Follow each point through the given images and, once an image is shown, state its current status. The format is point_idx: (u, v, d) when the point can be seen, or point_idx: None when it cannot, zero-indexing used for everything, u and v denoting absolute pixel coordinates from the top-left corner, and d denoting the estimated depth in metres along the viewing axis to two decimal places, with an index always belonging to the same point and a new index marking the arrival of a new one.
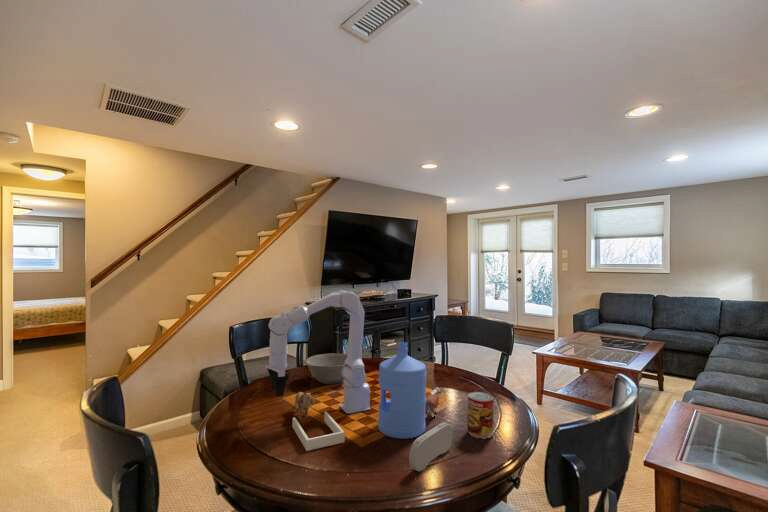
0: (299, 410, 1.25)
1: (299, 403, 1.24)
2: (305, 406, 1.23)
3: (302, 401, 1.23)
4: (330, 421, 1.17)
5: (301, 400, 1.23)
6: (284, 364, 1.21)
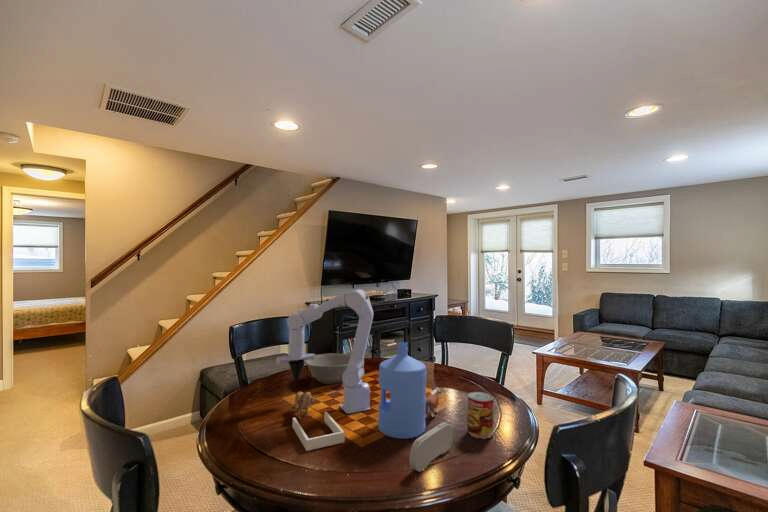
0: (299, 410, 1.25)
1: (299, 403, 1.24)
2: (305, 405, 1.23)
3: (302, 401, 1.23)
4: (330, 421, 1.17)
5: (301, 400, 1.24)
6: (291, 356, 1.36)
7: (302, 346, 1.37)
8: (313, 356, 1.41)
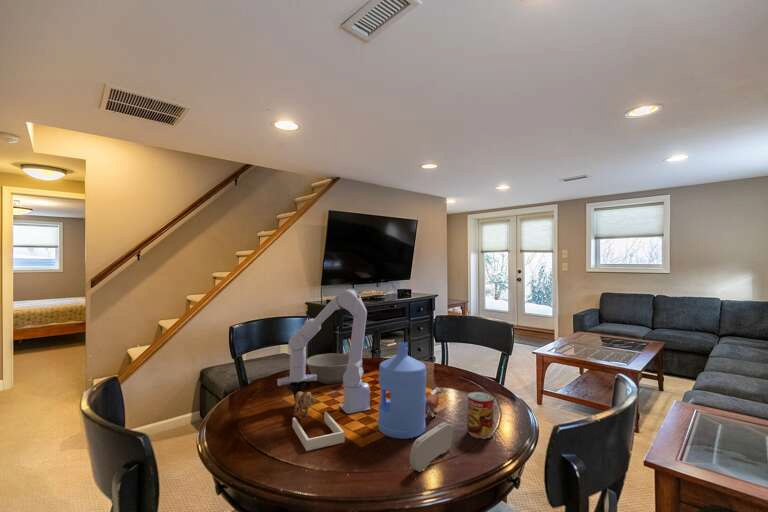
0: (299, 409, 1.25)
1: (299, 402, 1.24)
2: (305, 405, 1.23)
3: (302, 400, 1.23)
4: (330, 421, 1.17)
5: (301, 399, 1.24)
6: (292, 378, 1.34)
7: (303, 367, 1.35)
8: (315, 377, 1.38)
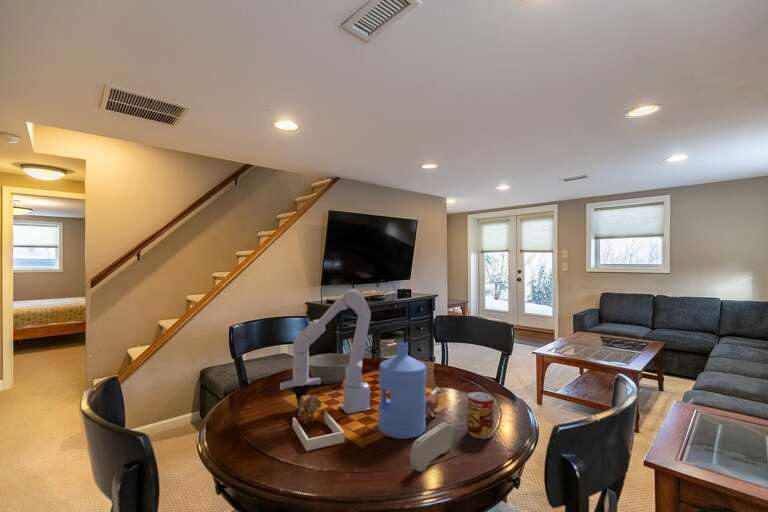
0: (305, 414, 1.21)
1: (306, 407, 1.21)
2: (312, 410, 1.20)
3: (309, 405, 1.20)
4: (330, 421, 1.17)
5: (308, 404, 1.20)
6: (296, 381, 1.30)
7: (307, 371, 1.31)
8: (318, 381, 1.34)
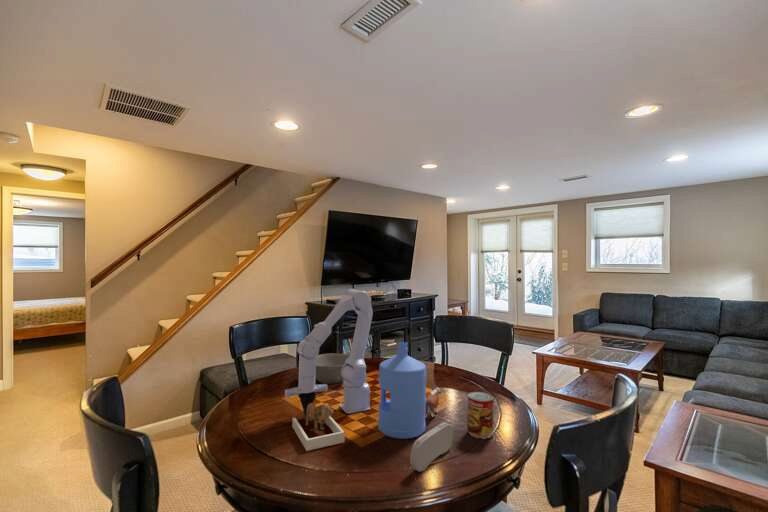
0: (316, 423, 1.15)
1: (316, 415, 1.14)
2: (324, 418, 1.13)
3: (320, 413, 1.13)
4: (330, 421, 1.17)
5: (319, 412, 1.14)
6: (302, 388, 1.22)
7: (313, 377, 1.24)
8: (325, 387, 1.27)
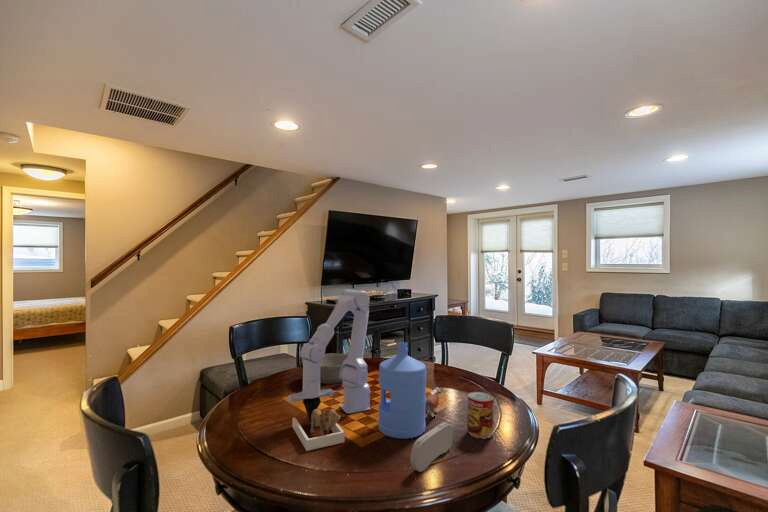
0: (322, 430, 1.10)
1: (323, 422, 1.09)
2: (331, 425, 1.09)
3: (327, 419, 1.09)
4: None
5: (326, 418, 1.09)
6: (306, 394, 1.18)
7: (318, 382, 1.19)
8: (330, 392, 1.22)
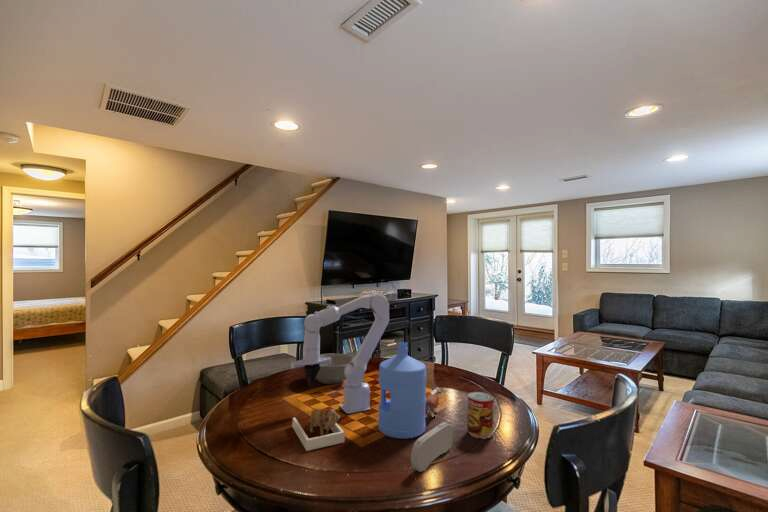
0: (322, 430, 1.10)
1: (323, 422, 1.10)
2: (330, 424, 1.09)
3: (327, 419, 1.09)
4: None
5: (325, 418, 1.09)
6: (307, 360, 1.29)
7: (318, 350, 1.30)
8: (329, 360, 1.33)
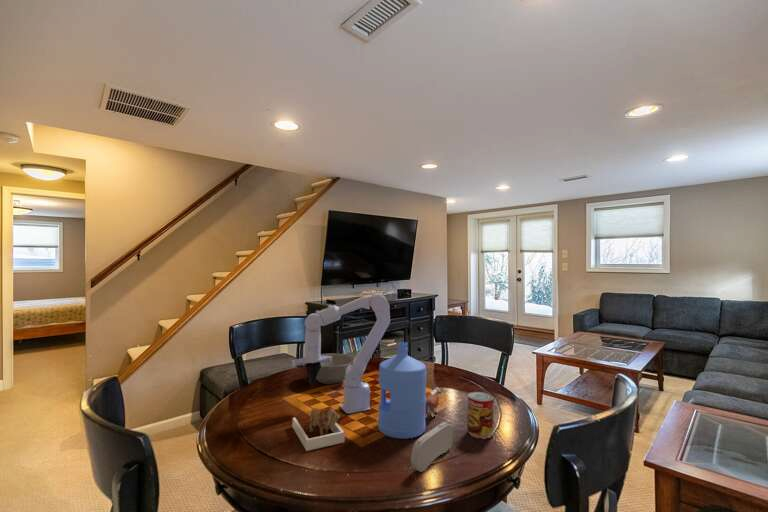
0: (321, 429, 1.11)
1: (322, 421, 1.10)
2: (330, 424, 1.10)
3: (327, 419, 1.10)
4: None
5: (325, 418, 1.10)
6: (308, 358, 1.31)
7: (319, 348, 1.32)
8: (330, 358, 1.35)
